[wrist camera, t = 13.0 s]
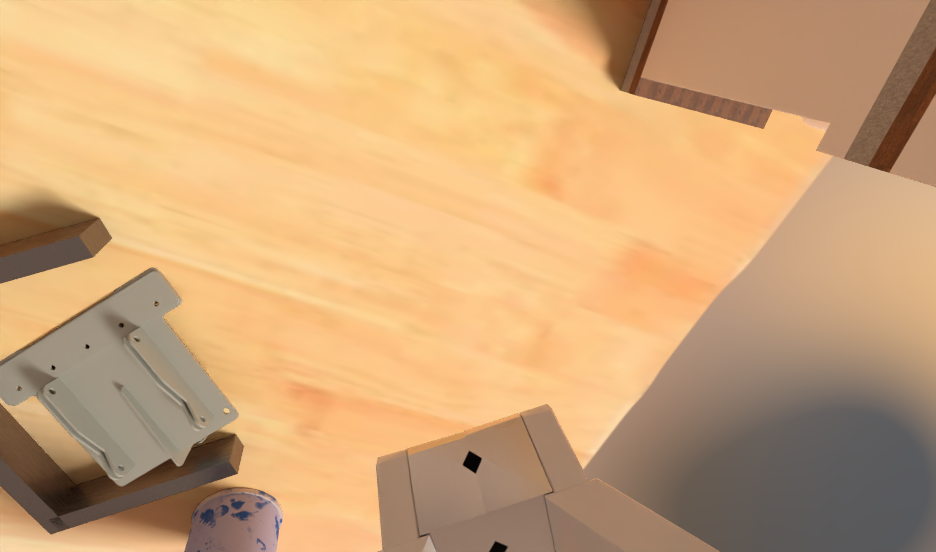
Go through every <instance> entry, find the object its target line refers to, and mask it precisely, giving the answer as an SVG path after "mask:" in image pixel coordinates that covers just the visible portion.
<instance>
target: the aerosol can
mask: <svg viewBox="0 0 936 552" xmlns="http://www.w3.org/2000/svg"><path fill="white" fill-rule="evenodd" d="M282 517H283V511H282V508H281V506H280V504H279V503H278V502H277V501H276V499H275V498H274V497H272V496H270V495H269V494H267V493H265V492H263V491H259V490H255V489H250V488H232V489H228V490H223V491H219V492H217V493H215V494H212V495H210V496H208V497H207V498H205V499H204V500H203V501H202V502H201V503H199V504H198V506H197V508H196V509H195V511H194V513H193V516H192V526H191V531H190V534H189V538H188V541H187V544H186V548H185V551H184V552H276V550H277V542H278V534H279V529H280V527H281V524H282Z"/></svg>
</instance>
